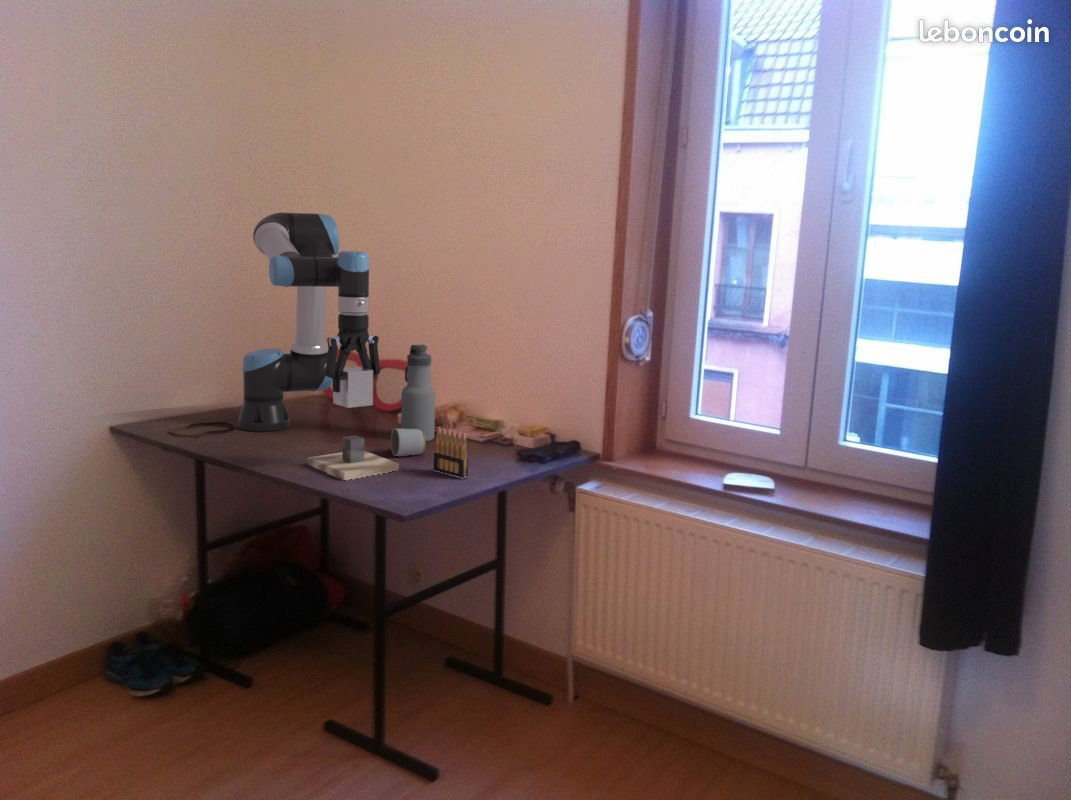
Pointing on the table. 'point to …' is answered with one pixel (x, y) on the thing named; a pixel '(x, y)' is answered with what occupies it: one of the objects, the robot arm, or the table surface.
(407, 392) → the water bottle
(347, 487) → the table surface
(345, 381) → the mottled grey cube
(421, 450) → the ceramic mug
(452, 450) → the ammunition clip
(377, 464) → the base
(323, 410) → the table surface
